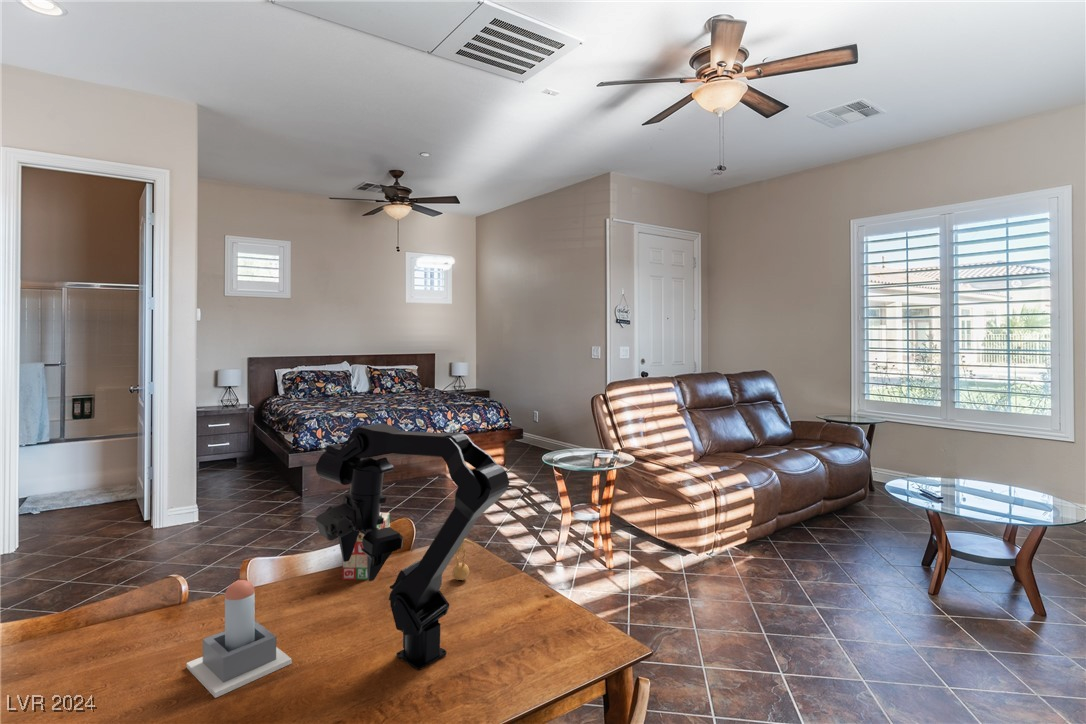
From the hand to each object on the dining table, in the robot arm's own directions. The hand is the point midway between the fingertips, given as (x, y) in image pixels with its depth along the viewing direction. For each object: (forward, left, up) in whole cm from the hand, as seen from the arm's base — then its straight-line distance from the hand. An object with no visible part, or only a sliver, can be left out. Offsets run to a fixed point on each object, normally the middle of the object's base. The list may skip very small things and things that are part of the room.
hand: (358, 570), depth 102 cm
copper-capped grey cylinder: (+6, +18, -12) cm, 23 cm away
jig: (+6, +19, -12) cm, 23 cm away
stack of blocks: (+28, -21, -13) cm, 37 cm away
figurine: (+2, -28, -13) cm, 31 cm away
